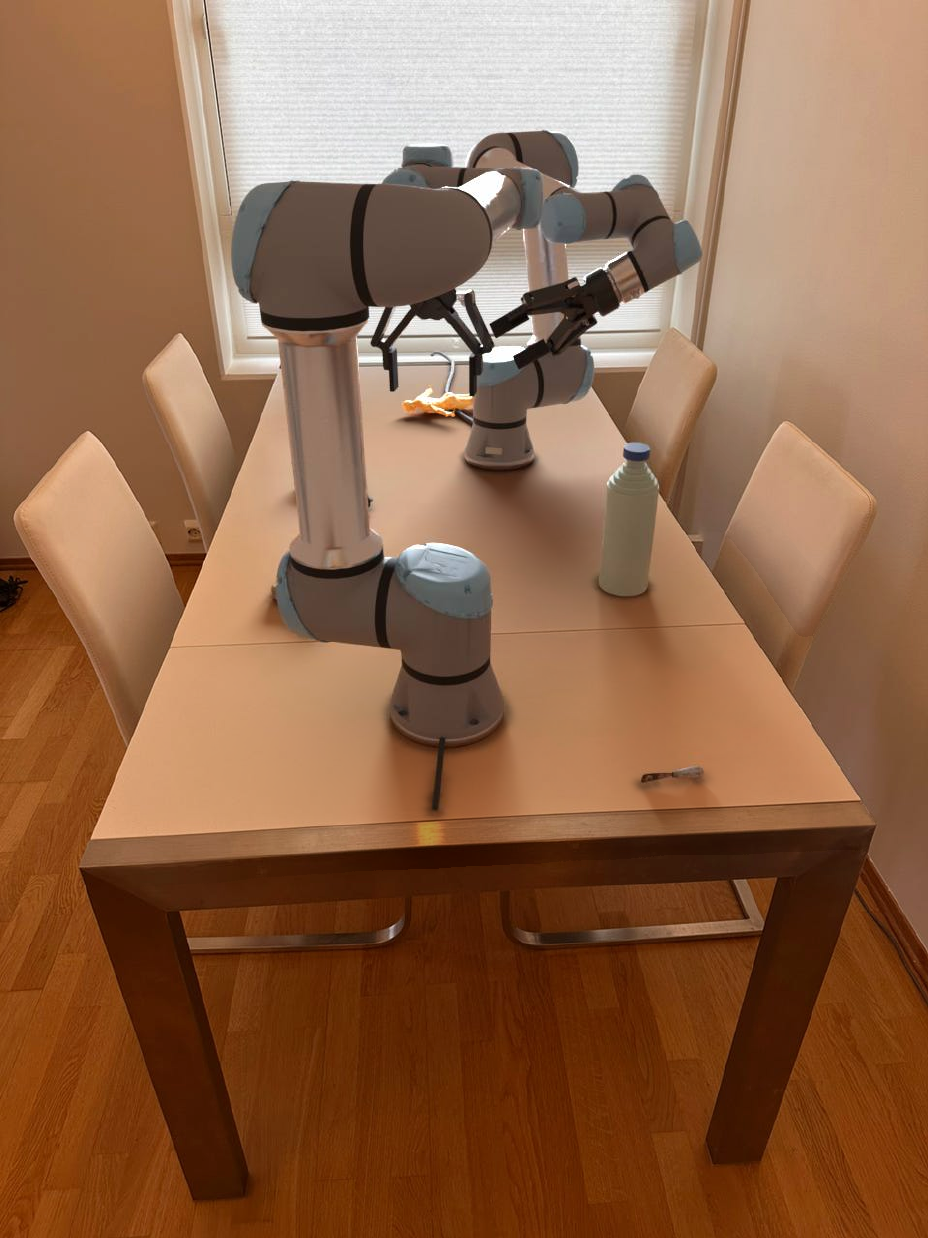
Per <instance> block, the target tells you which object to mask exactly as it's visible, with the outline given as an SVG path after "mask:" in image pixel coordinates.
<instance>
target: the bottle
mask: <svg viewBox="0 0 928 1238" xmlns="http://www.w3.org/2000/svg"><path fill="white" fill-rule="evenodd" d="M659 493H660V484H659V481H658V479H657V478H656V477H655V474H654V473H653V472H652V469H651V468H650V467H649V465H648V463H647V462H646V460H645V461H631V460H627V459H625V461H623V463H622V465H620V466H619V467H618V469H617V470H615V471H614V473H613V474H612V475H611V476H610V477H609V480H608V481H607V483H606V493H605V506H604V516H603V529H602V539H601V540H602V541H601V550H600V551H601V552H600V563H599V575H598V585H599V587H600V589H601V590H602V591H604V592H605V593H608V594H610V595H614V596H617V597H618V596H619V597H635V596H639V595H641V594H643V593H645V592H646V591H647V589H648V585H649V577H650V570H651V569H650V567H651V561H652V551H653V543H654V536H655V535H654V534H655V529H656V527H655V526H656V520H657V519H656V518H657V510H658V502H659Z"/></svg>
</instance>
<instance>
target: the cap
mask: <svg viewBox="0 0 928 1238" xmlns="http://www.w3.org/2000/svg"><path fill="white" fill-rule="evenodd" d="M650 456H651V446H650V445H648V444H646V443H642V442H629V443H626V444H623V451H622V457H623V458H624V459H625V460H626V459H627V460H631V461H645V462H646V461H647V460H649V459H650Z"/></svg>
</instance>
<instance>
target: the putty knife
mask: <svg viewBox="0 0 928 1238" xmlns="http://www.w3.org/2000/svg"><path fill="white" fill-rule="evenodd" d="M704 772H705V771H704V768H702V767H701V766H697V765H695V766H688V767H683V768H679V769H675V770H673V771H671V772H653V773H652V772H651V773H650V772H649V773H644V774H642V776H641V779H640V783H642V784H645V783H648V782H653V781H659V780H665V779H668V778H673V779H674V778H675V779H693V778H694V779H695V778H700V777H702V776H703V775H704Z"/></svg>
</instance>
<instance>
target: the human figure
mask: <svg viewBox="0 0 928 1238" xmlns="http://www.w3.org/2000/svg"><path fill="white" fill-rule="evenodd" d="M424 391H425V392H423V393H422V394H420V395H418V396H416V398H415V399H414V400H404V401H403V402H402V411H404V412H405V413H410V414H412V413H414V412H417V408H418V409H420V410H421V411H423V412H424V413H427V414H439V415H443V416H444V417H449V416H450V417H451V418H452V417H453V418H454V417H455V416H456V414H455V413H456V412H455V411H454V410H455V409H458V410H459V411H462V410H464V409H467V408H469V407H471V406H473V397H469V393H468V394H460V393H457V394H455V393H453V392H449V393H446V394H445V393H444V394H443V395H442V396H441V397H440V398H434V397H429V396H430V395H432V394H433V392H434V391H433V389H432V385H429V387H428V389H424ZM450 410H452V411H450Z"/></svg>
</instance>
